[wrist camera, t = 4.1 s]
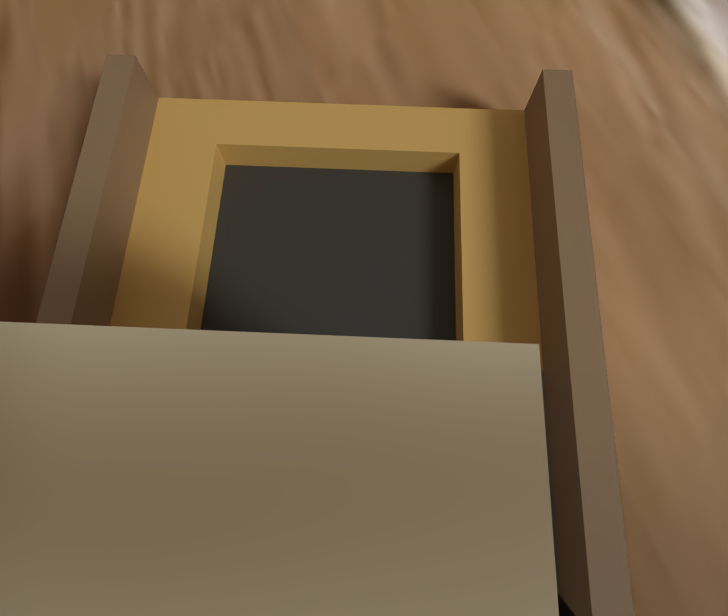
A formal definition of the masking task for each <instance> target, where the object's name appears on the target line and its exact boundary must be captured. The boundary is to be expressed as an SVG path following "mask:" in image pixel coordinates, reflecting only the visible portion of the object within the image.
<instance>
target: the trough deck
mask: <svg viewBox="0 0 728 616" xmlns="http://www.w3.org/2000/svg"><path fill="white" fill-rule="evenodd" d="M36 323H45V324H69V325H93V326H117V327H141V328H165V329H189V330H213V331H237V332H261V333H285V334H309V335H333V336H357V337H380V338H404V339H428V340H452V341H476V342H500V343H524V344H539V350H540V363H541V377H542V390H543V404H544V418H545V431H546V445H547V458H548V472H549V486H550V499H551V513H552V527H553V540H554V554H555V567H556V581H557V591H558V593H559V594H560V595H561V597H562V598H563V599H564V601H565V602H566V603H567V604H568V606H569V607H570V608H571V610H572V611H573V612H574V614H575V615H576V616H634V607H633V598H632V589H631V580H630V572H629V563H628V554H627V545H626V537H625V528H624V519H623V510H622V502H621V493H620V484H619V475H618V467H617V458H616V449H615V440H614V432H613V423H612V414H611V405H610V397H609V388H608V379H607V370H606V362H605V353H604V344H603V335H602V326H601V318H600V309H599V300H598V291H597V283H596V274H595V265H594V256H593V248H592V239H591V230H590V221H589V213H588V204H587V195H586V186H585V178H584V169H583V160H582V151H581V143H580V134H579V125H578V116H577V108H576V99H575V90H574V81H573V72H572V71H570V70H542V73H541V75H540V77H539V79H538V81H537V84H536V86H535V88H534V90H533V93H532V95H531V97H530V99H529V101H528V104H527V106H526V108H525V110H524V111H522V110H494V109H466V108H437V107H409V106H381V105H352V104H324V103H296V102H267V101H239V100H211V99H182V98H159V97H158V95H157V94H156V92H155V90H154V88H153V86H152V85H151V83H150V81H149V79H148V77H147V76H146V74H145V72H144V70H143V68H142V67H141V65H140V63H139V61H138V59H137V58H136V56H131V55H106V59H105V63H104V67H103V70H102V74H101V78H100V82H99V85H98V89H97V93H96V97H95V100H94V104H93V108H92V112H91V116H90V119H89V123H88V127H87V131H86V134H85V138H84V142H83V146H82V150H81V153H80V157H79V161H78V165H77V168H76V172H75V176H74V180H73V184H72V187H71V191H70V195H69V199H68V202H67V206H66V210H65V214H64V217H63V221H62V225H61V229H60V233H59V236H58V240H57V244H56V248H55V251H54V255H53V259H52V263H51V267H50V270H49V274H48V278H47V282H46V285H45V289H44V293H43V297H42V300H41V304H40V308H39V312H38V316H37V319H36Z"/></svg>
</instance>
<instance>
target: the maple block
mask: <svg viewBox="0 0 728 616" xmlns="http://www.w3.org/2000/svg"><path fill="white" fill-rule="evenodd" d="M0 616H559V608H558V595H557V581H556V567H555V554H554V540H553V527H552V513H551V499H550V486H549V472H548V458H547V445H546V431H545V418H544V404H543V390H542V377H541V363H540V350H539V344H524V343H500V342H476V341H452V340H428V339H404V338H380V337H357V336H333V335H309V334H285V333H261V332H237V331H213V330H189V329H165V328H141V327H117V326H93V325H69V324H45V323H21V322H0Z"/></svg>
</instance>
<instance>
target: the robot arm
mask: <svg viewBox="0 0 728 616" xmlns="http://www.w3.org/2000/svg"><path fill="white" fill-rule="evenodd" d="M557 595H558V608H559V616H576V615H575V614H574V612H573V611H572V610H571V608H570V607H569V606H568V604H567V603H566V602H565V601H564V599H563V598H562V597H561V595H560V594H559V593H558V591H557Z"/></svg>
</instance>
